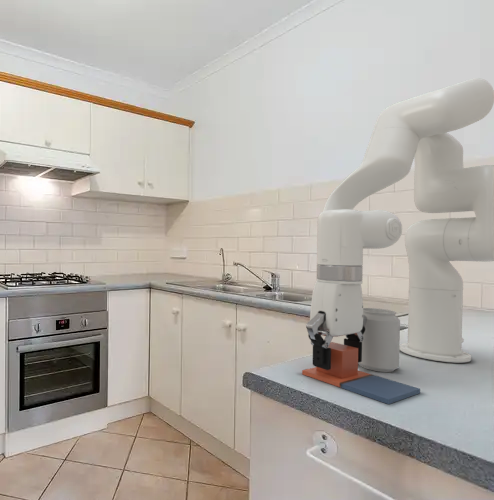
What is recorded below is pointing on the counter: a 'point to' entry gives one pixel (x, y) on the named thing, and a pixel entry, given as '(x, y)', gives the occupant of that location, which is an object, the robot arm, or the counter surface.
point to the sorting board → (367, 385)
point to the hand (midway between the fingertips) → (337, 363)
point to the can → (380, 340)
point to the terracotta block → (342, 361)
